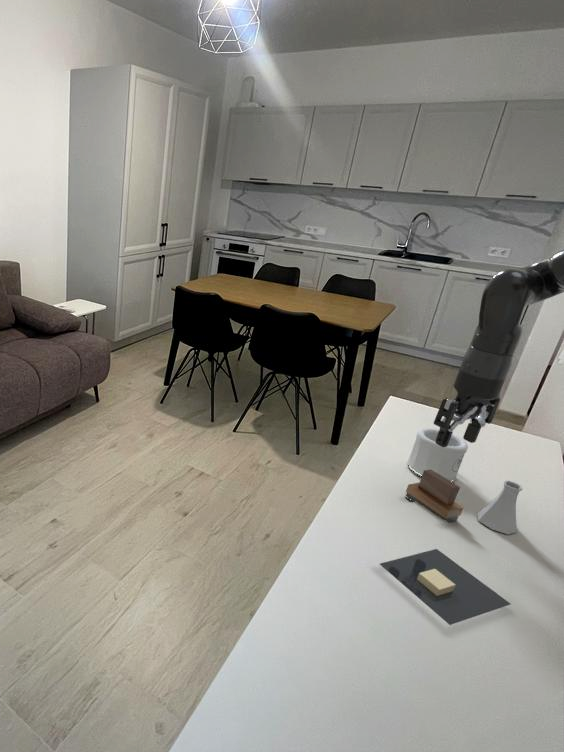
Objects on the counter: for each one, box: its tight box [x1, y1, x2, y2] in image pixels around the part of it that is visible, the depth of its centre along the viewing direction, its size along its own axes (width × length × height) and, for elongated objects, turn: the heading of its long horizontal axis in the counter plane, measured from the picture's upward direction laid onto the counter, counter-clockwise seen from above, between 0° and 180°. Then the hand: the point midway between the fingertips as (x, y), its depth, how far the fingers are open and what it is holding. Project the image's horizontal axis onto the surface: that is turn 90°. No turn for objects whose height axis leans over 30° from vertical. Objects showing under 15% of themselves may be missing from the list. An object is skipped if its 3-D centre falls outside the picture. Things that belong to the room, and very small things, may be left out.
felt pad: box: [417, 569, 455, 596], centre depth 87 cm, size 4×4×2 cm
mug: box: [407, 427, 469, 481], centre depth 125 cm, size 14×11×10 cm
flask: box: [476, 480, 523, 535], centre depth 105 cm, size 7×7×10 cm
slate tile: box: [379, 548, 511, 626], centre depth 88 cm, size 15×14×1 cm
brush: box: [404, 469, 464, 523], centre depth 109 cm, size 4×10×8 cm, turn 20°
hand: (454, 443), depth 103 cm, fingers open, 8 cm apart
